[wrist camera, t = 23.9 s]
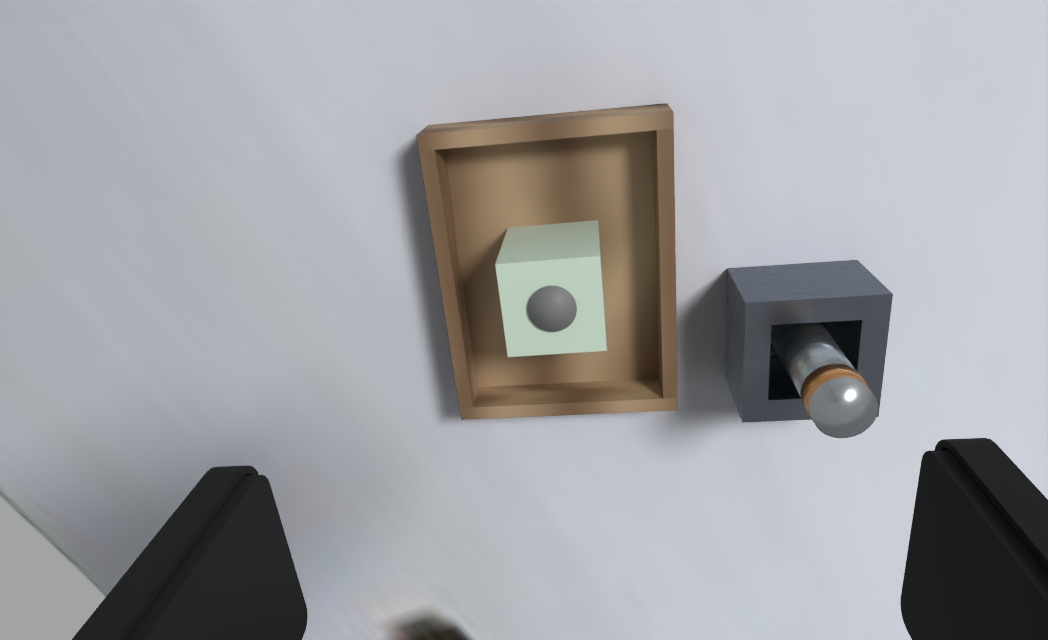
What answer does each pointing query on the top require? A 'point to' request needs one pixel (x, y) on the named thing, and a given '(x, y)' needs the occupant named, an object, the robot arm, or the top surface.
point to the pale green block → (552, 289)
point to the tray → (551, 198)
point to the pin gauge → (825, 379)
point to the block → (794, 298)
